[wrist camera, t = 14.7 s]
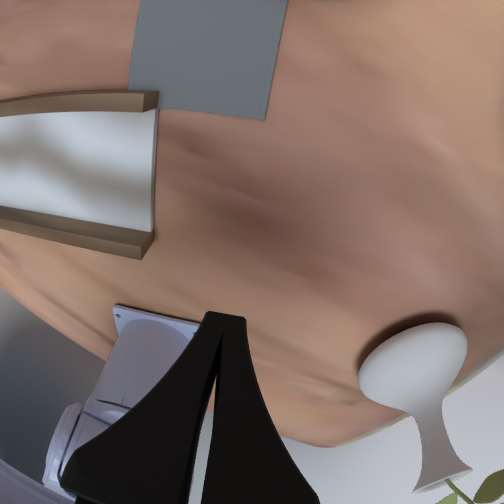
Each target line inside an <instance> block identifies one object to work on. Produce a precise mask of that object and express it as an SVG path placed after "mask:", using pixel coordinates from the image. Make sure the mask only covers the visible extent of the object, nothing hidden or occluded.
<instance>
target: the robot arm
mask: <svg viewBox="0 0 504 504" xmlns="http://www.w3.org/2000/svg"><path fill="white" fill-rule="evenodd" d="M113 315H114V320H115V324H116V329H117V333H118V338H117V340H116V343H115V345H114V347H113V349H112V351H111V353H110V355H109V357H108V359H107V362H106V364H105V366H104V368H103V370H102V373H101V375H100V377H99V379H98V382H97V384H96V386H95V388H94V391H93V393H92V395H91V397H89V398H88V400H87V403H86V405H85V408H84V410H82V408H83V406H82V405H80V404H79V403H75V404H74V405H70V406H68V407H67V408H66V409H65V411H64V413H63V415H62V417H61V419H60V421H59V423H58V425H57V428H56V430H55V433H54V435H53V438H52V441H51V443H50V446H49V450H48V453H47V457H46V468H45V472H44V476H43V480H42V481H43V483H44V484H45V485H44V486H43V485H41V484H39V483H37V482H36V481H34V480H32V479H30V478H29V477H27V476H25V475H24V474H22V473H20V472H19V471H17V470H16V469H14V468H13V467H11V466H10V465H8V464H7V463H5V462H4V461H2V460H1V459H0V504H188V502H189V496H190V492H191V489H192V484H193V478H194V465H195V459H196V453H197V447H198V441H199V436H200V431H201V427H202V423H203V420H204V416H205V413H206V409H207V406H208V402H209V399H210V395H211V392H212V388H213V385H214V381H215V378H216V388H215V401H214V416H213V429H212V437H211V443H210V449H209V455H208V461H207V468H206V474H205V480H204V486H203V493H202V499H201V504H320V501H319V498H318V496H317V494H316V493H315V491H314V490H313V489H312V488H311V486H310V485H309V484H308V482H307V481H306V479H305V478H304V477H303V475H302V474H301V472H300V471H299V469H298V467H297V466H296V464H295V463H294V461H293V460H292V458H291V456H290V454H289V453H288V451H287V449H286V447H285V445H284V443H283V442H282V440H281V438H280V436H279V434H278V432H277V430H276V428H275V426H274V424H273V421H272V419H271V417H270V415H269V412H268V410H267V407H266V405H265V402H264V400H263V397H262V394H261V391H260V388H259V385H258V382H257V378H256V375H255V371H254V367H253V363H252V359H251V355H250V350H249V344H248V338H247V327H246V319H245V318H244V317H240V316H235V315H229V314H224V313H218V312H213V311H208V312H206V314H205V316H204V318H203V320H202V322H201V324H198V323H194V322H190V321H185V320H180V319H175V318H171V317H166V316H162V315H157V314H153V313H149V312H145V311H140V310H136V309H132V308H128V307H124V306H120V305H115V306H114V307H113ZM216 374H217V375H216Z"/></svg>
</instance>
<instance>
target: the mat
mask: <svg viewBox="0 0 504 504" xmlns="http://www.w3.org/2000/svg"><path fill="white" fill-rule="evenodd" d="M287 1H288V0H141V2H140V7H139V12H138V18H137V23H136V29H135V35H134V42H133V49H132V56H131V64H130V72H129V82H128V90H146V91H159V98H158V108H166V109H179V110H189V111H199V112H208V113H216V114H223V115H231V116H237V117H244V118H250V119H256V120H262V121H264V119H265V114H266V108H267V103H268V98H269V93H270V87H271V82H272V77H273V72H274V67H275V61H276V56H277V51H278V46H279V41H280V36H281V31H282V26H283V21H284V16H285V11H286V6H287Z"/></svg>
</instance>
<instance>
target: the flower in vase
mask: <svg viewBox="0 0 504 504" xmlns="http://www.w3.org/2000/svg"><path fill="white" fill-rule="evenodd" d="M466 354H467V338H466V335H465V333H464V332H463V331H462V330H461V329H460V328H458V327H456V326H453V325H450V324H448V323H437V322H436V323H427V324H422V325H419V326H415V327H412V328H409V329H407V330H405V331H402V332H400V333H398V334H396V335H394V336H392V337H391V338H389V339H388V340H386V341H384V342H383V343H382V344H380V345H379V346H378V347H377V348H376V349H374V350H373V351H372V352H371V353H370V354H369V356H368V357H367V358H366V359H365V361H364V363H363V364H362V366H361V368H360V370H359V373H358V377H357V383H358V386H359V388H360V389H361V390H362V392H363V393H364V395H365V396H366V397H368V398H369V399H371V400H373V401H375V402H377V403H379V404H382V405H385V406H389V407H392V408H396V409H400V410H403V411H406V412H408V413H409V414H411V415H412V416H413V417H414V418H415V421H416V423H417V425H418V429H419V432H420V437H421V443H422V469H421V474H420V477H419V480H418V482H417V484H416V486H415V488H414V490H413V492H412V493H413V494H417V493H422V492H426V491H430V490H433V489H436V488H439V487H441V486H444V485H447V484H448V485H449V487H450V488H451V489H452V490H453V491H454V492H455V493H452V494H450V495H449V496H447V497H445V498H444V499H442V500H441V501H439V502H438V503H436V504H457V494H458V495H459V496H460V497H462V498H463V500H464V501H466V502H467V503H468V504H474V503H473V502H475V503H480V504H482V503H492V502H494V501H496V500H498V499H499V498H500V497H501V496H502V495H503V494H504V469H503V470H500V471H497V472H495V473H493V474H491V475H490V476H488V477H487V478H486V479H485V480H484V482H483V483H482V485H481V486H480V488H479V489H478V491H477V493H476V494H475V497H474V500H473V501H472V500H471V499H469V498H468V497H467V496H466V495H465V494H464V493H462V492H461V491H460V490H459V489H458V488H457V487H456V486H455V485H454V484H453V483H452V482H454V481H456V480H458V479H460V478H462V477H464V476H466V475H467V474H469V473H470V472H472V470H473V469H472V468H471V467H469V466H467V465H466V464H465V463H463V462H462V461H461V460H460V459H459V457H458V456H457V455H456V453H455V451H454V449H453V447H452V445H451V443H450V440H449V438H448V435H447V432H446V429H445V426H444V421H443V417H442V408H441V407H442V400H443V398H444V396H445V394H446V392H447V391H448V389H449V387H450V386H451V384H452V383H453V381H454V380H455V378H456V376H457V375H458V373H459V371H460V369H461V367H462V365H463V362H464V360H465V357H466ZM456 493H457V494H456ZM501 504H504V503H501Z"/></svg>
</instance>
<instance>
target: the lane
mask: <svg viewBox="0 0 504 504" xmlns="http://www.w3.org/2000/svg"><path fill="white" fill-rule="evenodd" d="M158 98H159V91H146V90H90V91H72V92H60V93H49V94H41V95H33V96H25V97H19V98H12V99H7V100H1V101H0V228H1V229H5V230H9V231H13V232H17V233H21V234H25V235H29V236H34V237H38V238H42V239H46V240H51V241H55V242H59V243H64V244H68V245H72V246H77V247H81V248H86V249H91V250H95V251H100V252H104V253H109V254H114V255H118V256H123V257H128V258H133V259H138V260H142V258H143V257H144V255H145V254H146V252H147V250H148V249H149V247H150V246H151V244H152V243H153V241H154V182H155V159H156V142H157V129H158V117H159V108H158Z"/></svg>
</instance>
